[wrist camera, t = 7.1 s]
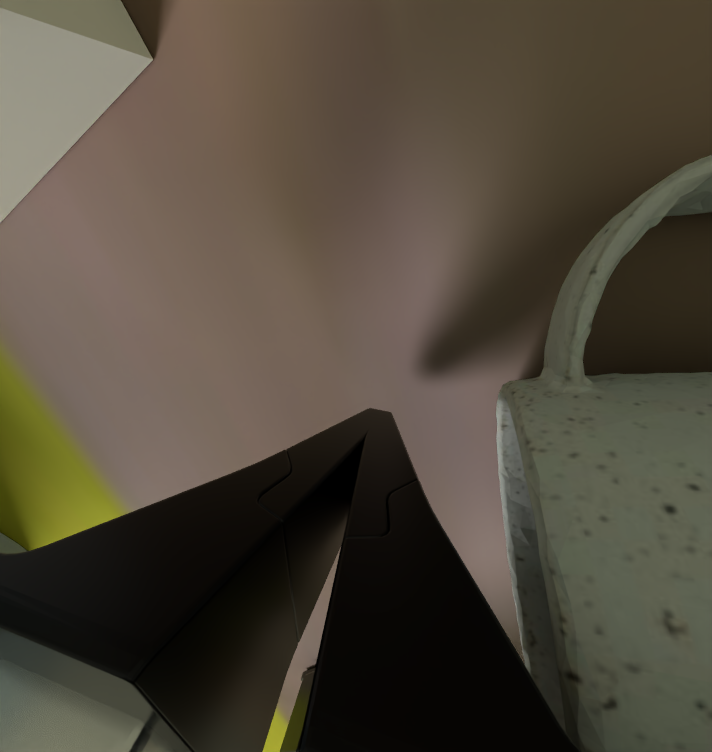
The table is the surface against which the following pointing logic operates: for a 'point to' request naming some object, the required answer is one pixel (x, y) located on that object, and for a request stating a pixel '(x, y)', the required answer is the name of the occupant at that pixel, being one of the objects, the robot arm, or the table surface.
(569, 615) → the ceramic mug
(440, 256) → the table surface
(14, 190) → the panel
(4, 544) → the flask
